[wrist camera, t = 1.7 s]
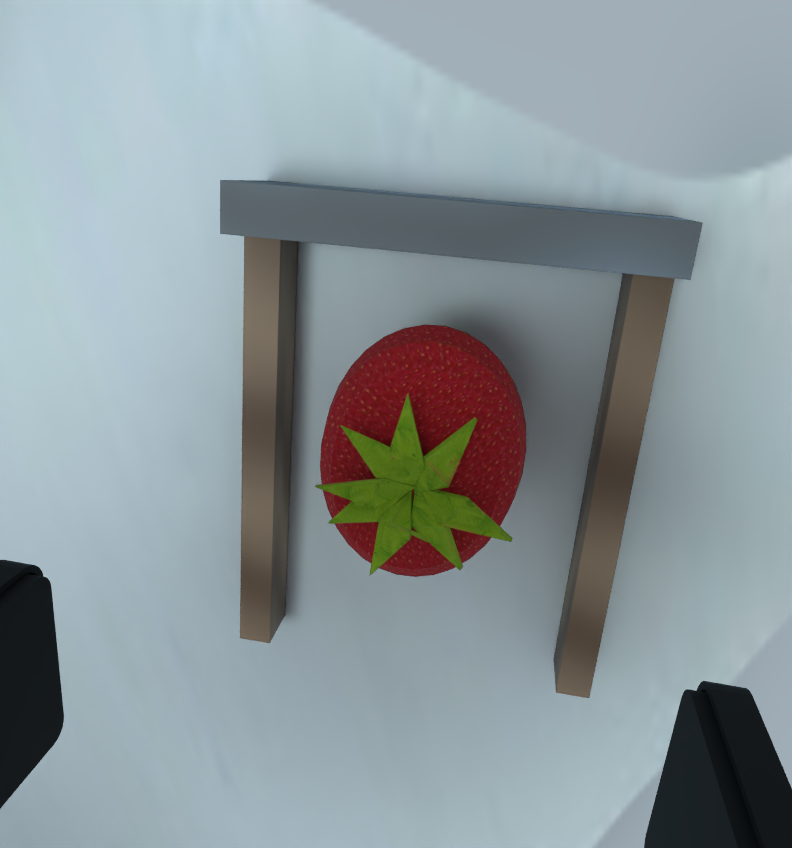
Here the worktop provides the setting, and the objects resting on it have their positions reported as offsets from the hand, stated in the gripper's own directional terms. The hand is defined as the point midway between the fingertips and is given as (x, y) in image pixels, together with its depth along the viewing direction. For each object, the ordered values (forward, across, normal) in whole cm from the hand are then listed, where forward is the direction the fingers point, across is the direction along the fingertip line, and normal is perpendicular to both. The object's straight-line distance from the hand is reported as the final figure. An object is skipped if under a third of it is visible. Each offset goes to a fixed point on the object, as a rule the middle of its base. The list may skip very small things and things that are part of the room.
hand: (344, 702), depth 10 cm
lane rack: (+16, 0, +3) cm, 17 cm away
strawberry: (+17, 0, +1) cm, 17 cm away
